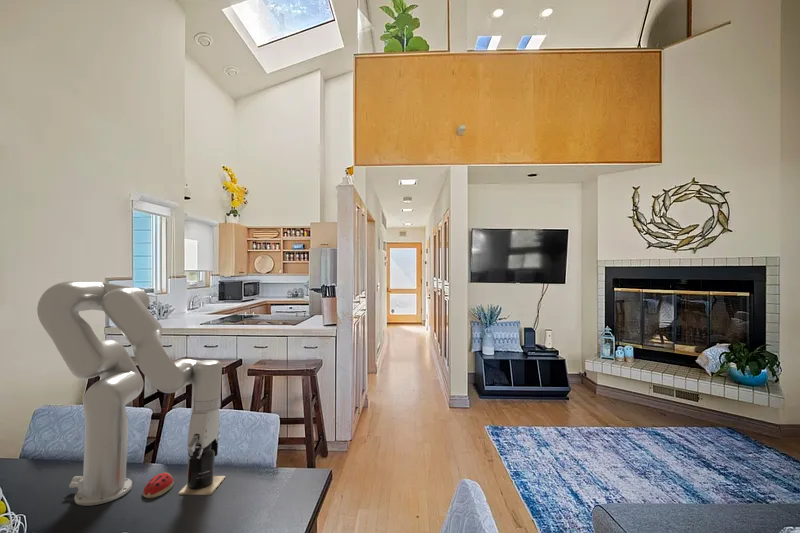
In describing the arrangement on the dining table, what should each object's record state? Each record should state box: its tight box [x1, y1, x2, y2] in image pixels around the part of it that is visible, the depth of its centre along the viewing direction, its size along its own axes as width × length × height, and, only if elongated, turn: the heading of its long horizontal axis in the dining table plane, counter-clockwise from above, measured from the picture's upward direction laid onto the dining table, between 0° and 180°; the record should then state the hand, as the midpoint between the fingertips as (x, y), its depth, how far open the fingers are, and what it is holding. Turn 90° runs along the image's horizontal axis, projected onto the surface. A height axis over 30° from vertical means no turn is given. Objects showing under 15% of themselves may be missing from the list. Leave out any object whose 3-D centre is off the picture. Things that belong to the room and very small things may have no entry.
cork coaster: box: [178, 475, 226, 496], centre depth 111 cm, size 9×9×1 cm
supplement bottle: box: [186, 442, 216, 489], centre depth 111 cm, size 7×7×12 cm
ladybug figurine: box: [142, 472, 175, 499], centre depth 108 cm, size 7×10×4 cm
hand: (203, 463), depth 111 cm, fingers open, 9 cm apart
